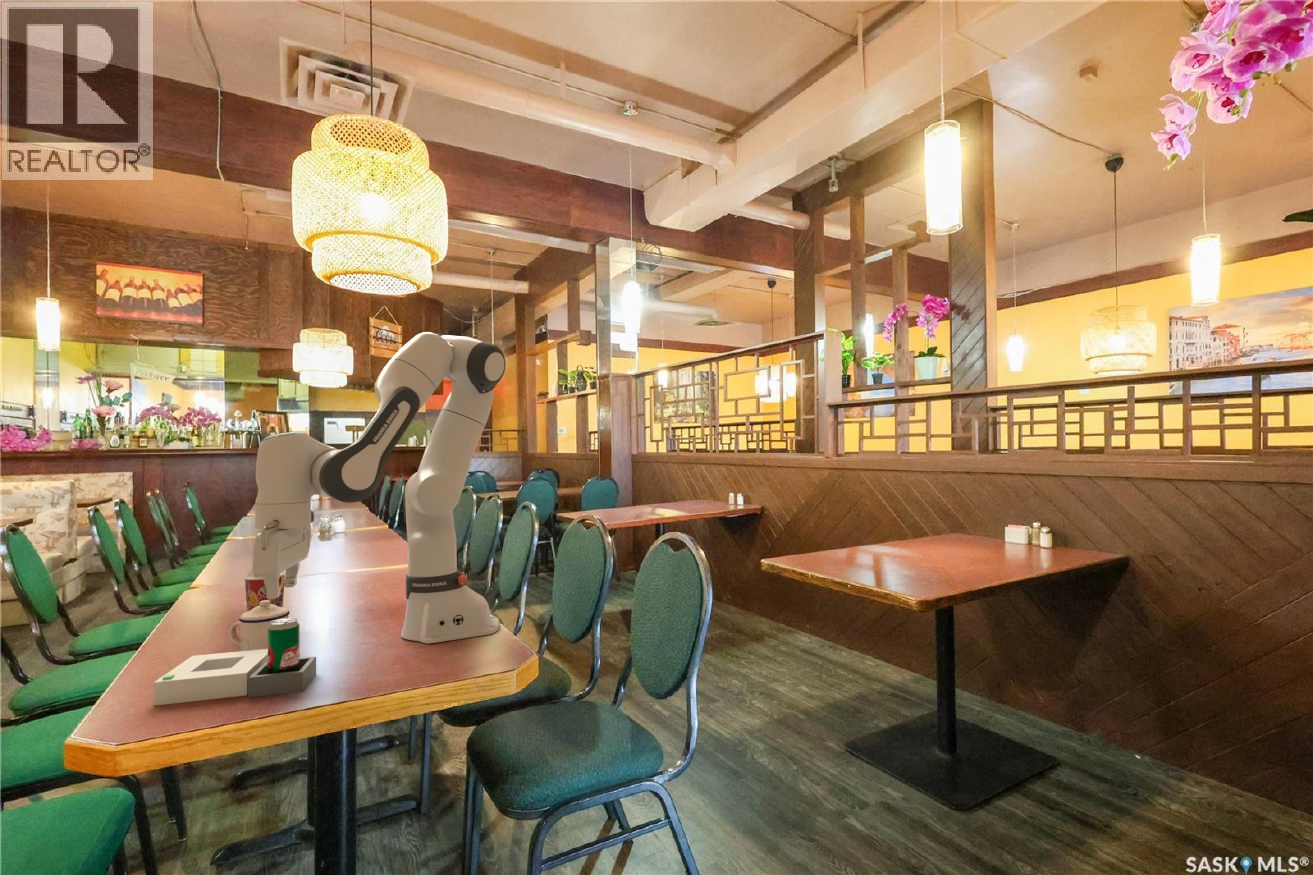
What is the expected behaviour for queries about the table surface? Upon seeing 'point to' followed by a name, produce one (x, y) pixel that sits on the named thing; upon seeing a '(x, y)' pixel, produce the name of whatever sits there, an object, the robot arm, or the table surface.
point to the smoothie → (261, 590)
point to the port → (209, 677)
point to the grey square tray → (282, 679)
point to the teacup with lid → (257, 625)
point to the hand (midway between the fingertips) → (282, 592)
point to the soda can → (283, 646)
